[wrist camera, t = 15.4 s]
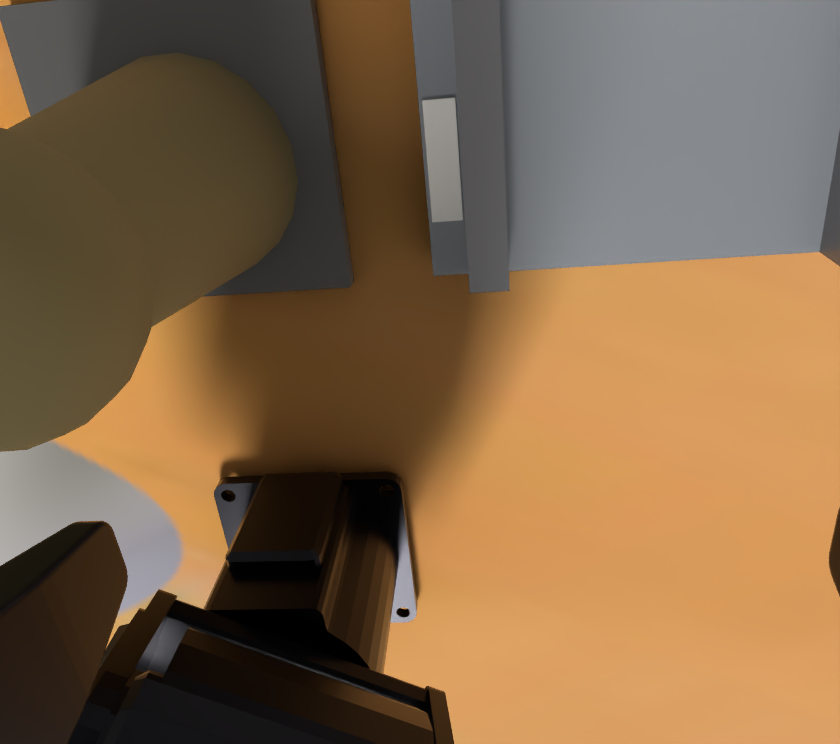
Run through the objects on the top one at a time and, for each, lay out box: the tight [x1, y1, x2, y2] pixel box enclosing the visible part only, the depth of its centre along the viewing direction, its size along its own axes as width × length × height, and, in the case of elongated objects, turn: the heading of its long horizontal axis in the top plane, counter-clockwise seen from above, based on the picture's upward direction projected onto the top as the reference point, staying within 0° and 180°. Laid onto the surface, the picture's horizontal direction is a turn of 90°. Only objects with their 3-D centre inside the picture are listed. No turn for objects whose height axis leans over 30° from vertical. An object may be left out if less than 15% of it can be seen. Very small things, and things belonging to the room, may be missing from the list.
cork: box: [0, 53, 298, 452], centre depth 15 cm, size 6×6×11 cm
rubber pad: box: [0, 0, 354, 296], centre depth 20 cm, size 8×8×1 cm
